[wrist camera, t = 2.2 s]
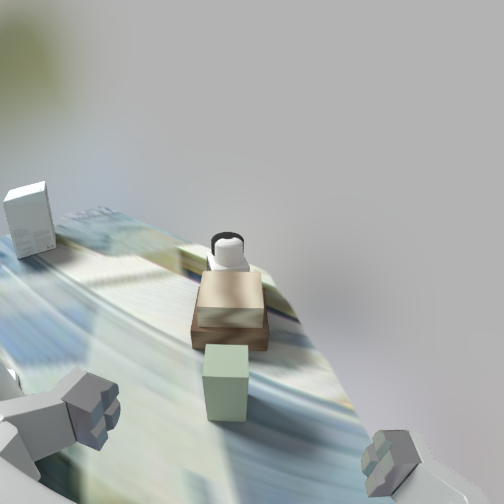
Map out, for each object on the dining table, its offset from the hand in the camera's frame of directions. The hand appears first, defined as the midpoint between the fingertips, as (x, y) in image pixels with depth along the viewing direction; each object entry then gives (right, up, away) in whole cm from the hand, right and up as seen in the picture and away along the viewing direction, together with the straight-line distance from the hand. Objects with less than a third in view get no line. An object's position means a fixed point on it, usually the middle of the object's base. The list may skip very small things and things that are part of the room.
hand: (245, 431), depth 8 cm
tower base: (-4, -8, +45) cm, 46 cm away
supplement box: (-64, +7, +67) cm, 93 cm away
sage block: (-3, -16, +30) cm, 34 cm away
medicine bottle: (-5, -2, +55) cm, 55 cm away
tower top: (-3, -4, +43) cm, 43 cm away
